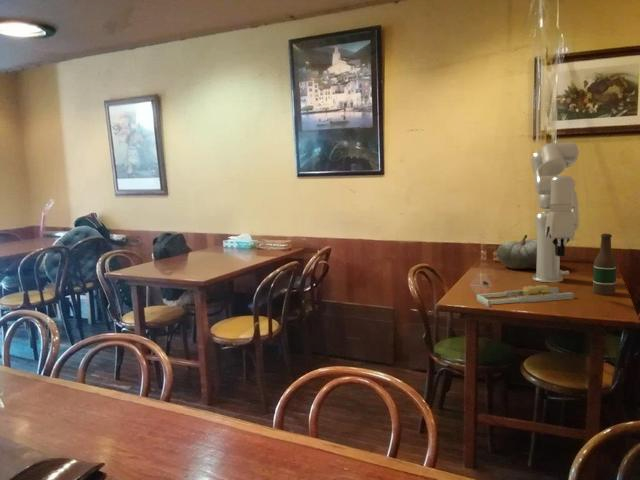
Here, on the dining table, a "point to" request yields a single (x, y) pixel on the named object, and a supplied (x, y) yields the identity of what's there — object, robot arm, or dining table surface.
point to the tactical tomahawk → (485, 284)
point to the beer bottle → (604, 269)
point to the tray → (484, 296)
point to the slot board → (544, 297)
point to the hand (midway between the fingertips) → (559, 255)
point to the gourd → (519, 254)
